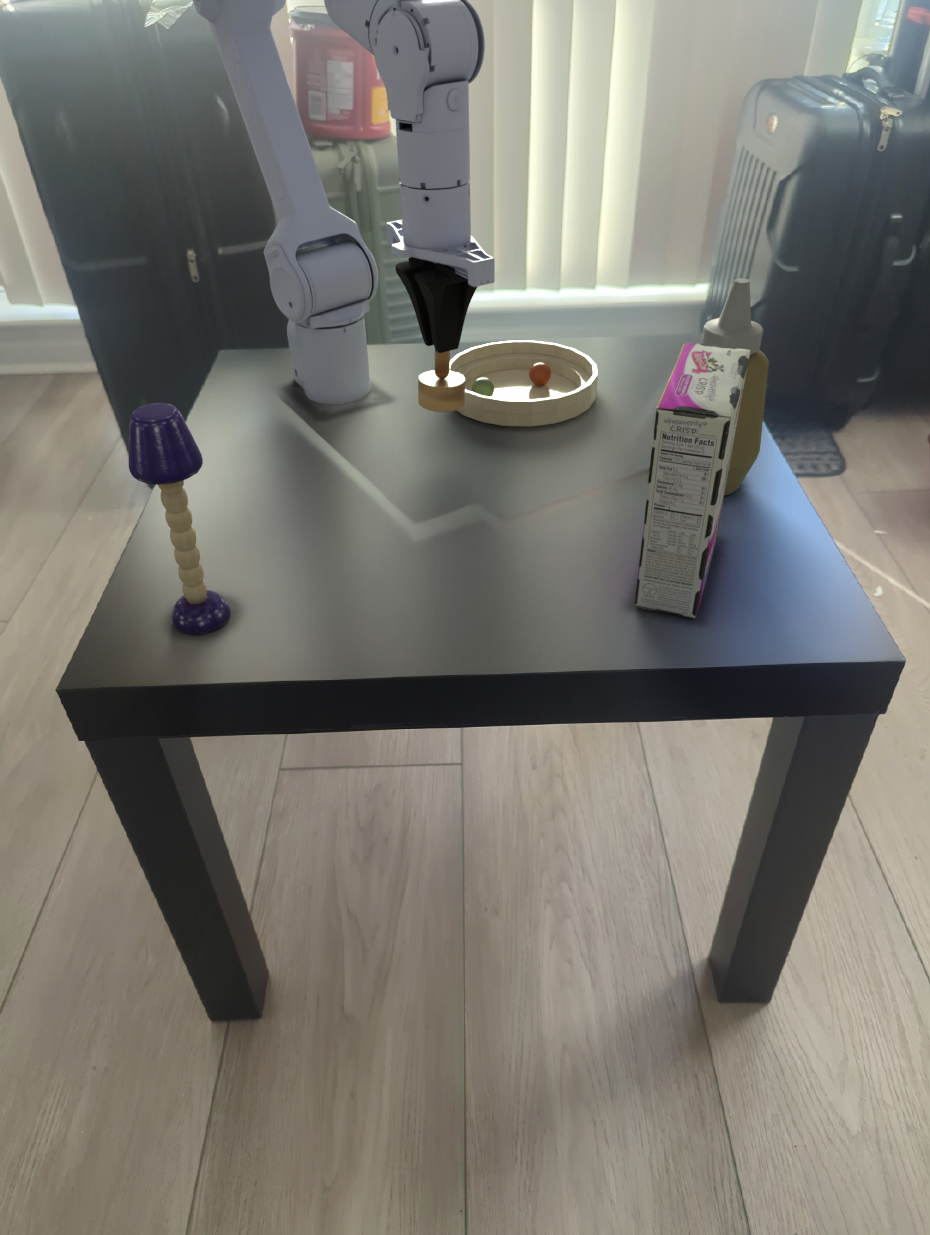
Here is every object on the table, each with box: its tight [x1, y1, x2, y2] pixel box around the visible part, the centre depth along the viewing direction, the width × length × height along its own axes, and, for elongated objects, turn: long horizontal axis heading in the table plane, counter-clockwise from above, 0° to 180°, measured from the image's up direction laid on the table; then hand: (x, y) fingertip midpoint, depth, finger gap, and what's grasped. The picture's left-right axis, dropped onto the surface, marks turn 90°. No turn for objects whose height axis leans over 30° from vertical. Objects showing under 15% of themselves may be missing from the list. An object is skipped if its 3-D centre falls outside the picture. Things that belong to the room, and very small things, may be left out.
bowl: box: [450, 340, 599, 427], centre depth 91 cm, size 16×16×4 cm
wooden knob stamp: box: [417, 349, 466, 413], centre depth 78 cm, size 4×4×9 cm
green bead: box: [472, 377, 494, 397], centre depth 90 cm, size 2×2×2 cm
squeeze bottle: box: [700, 277, 770, 497], centre depth 72 cm, size 8×8×18 cm
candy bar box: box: [634, 342, 750, 619], centre depth 62 cm, size 11×5×16 cm, turn 160°
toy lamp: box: [128, 402, 232, 635], centre depth 59 cm, size 5×5×17 cm
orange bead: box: [529, 363, 551, 385], centre depth 93 cm, size 2×2×2 cm
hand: (441, 346), depth 77 cm, fingers closed on wooden knob stamp
